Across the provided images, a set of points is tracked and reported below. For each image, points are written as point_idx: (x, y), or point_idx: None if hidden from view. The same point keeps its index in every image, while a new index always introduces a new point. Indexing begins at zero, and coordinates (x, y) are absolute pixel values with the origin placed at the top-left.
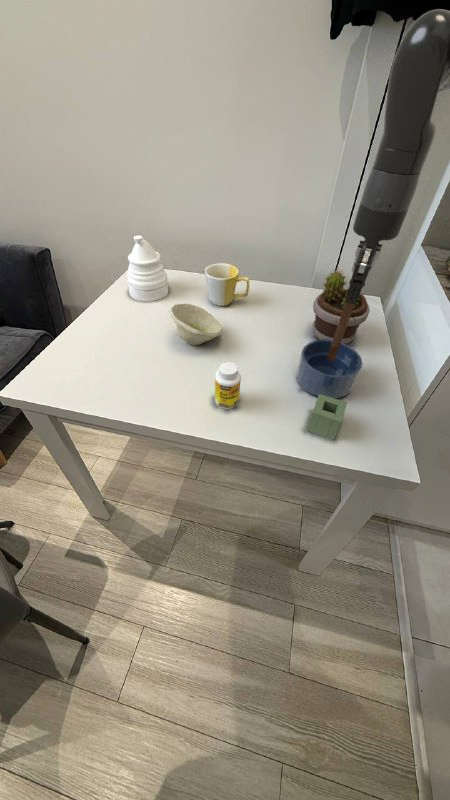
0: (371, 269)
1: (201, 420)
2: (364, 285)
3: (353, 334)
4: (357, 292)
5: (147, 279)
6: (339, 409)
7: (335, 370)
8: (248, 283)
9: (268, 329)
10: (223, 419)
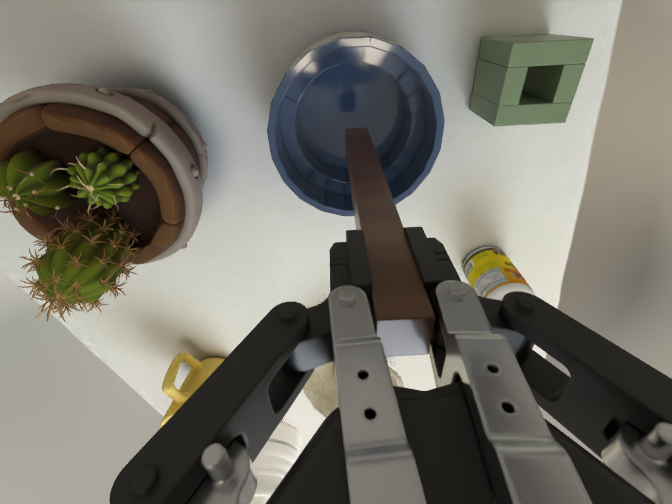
0: (520, 371)
1: (535, 274)
2: (537, 302)
3: (129, 94)
4: (455, 273)
5: (286, 465)
6: (545, 57)
7: (304, 98)
8: (173, 378)
9: (240, 277)
10: (526, 249)
